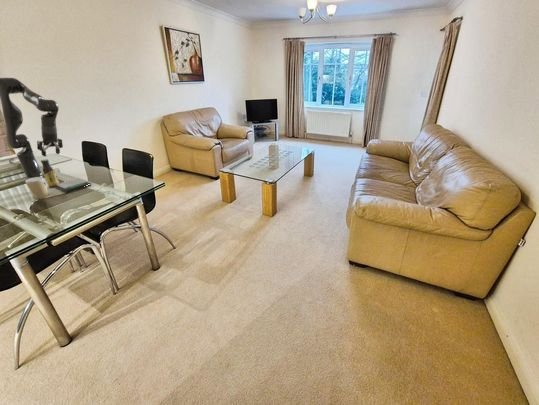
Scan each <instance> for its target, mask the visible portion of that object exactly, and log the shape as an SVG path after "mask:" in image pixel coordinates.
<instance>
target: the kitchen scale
mask: <svg viewBox="0 0 539 405" xmlns="http://www.w3.org/2000/svg"><path fill="white" fill-rule="evenodd" d="M88 184H91V185H88ZM86 185H88V186H86ZM84 186H85V187H84ZM88 187H92V183H91V182H89V181H86V180H84V179H81V178H79V177H77V178H74V179H73V178H72V179H69V180H66V181H63V182H59V184H56V185H55V187H54V188H55V189H56V190H59V191H61V192H63V193H65V194H70V193H73V192H76V191H79V190H82V189H86V188H88Z"/></svg>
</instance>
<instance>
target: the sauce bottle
mask: <svg viewBox="0 0 539 405" xmlns="http://www.w3.org/2000/svg"><path fill="white" fill-rule="evenodd" d="M40 163H41V165H42V174H43V177H44V180H45V182H46V185H47V186H48V188H50V189H53V188H56V187H55V185H56V184H59V183H60V182H59V179H58V178H57V175H56V172H55V170H54V168H53V167H52V166H51V165H50V161H49V159H41V160H40Z"/></svg>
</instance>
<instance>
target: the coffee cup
mask: <svg viewBox="0 0 539 405" xmlns="http://www.w3.org/2000/svg"><path fill="white" fill-rule="evenodd" d="M24 183H25V184H26V186H27V187H28V189H29V191H30V193H31V194H32V196H33V198H34V199H42V198H46V197H48V196H49V194H50V193H49V190H48V187H47V183H46V180H45V177H44V176H43V177H34V178H30V179H26V180H25V182H24Z"/></svg>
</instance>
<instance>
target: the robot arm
mask: <svg viewBox="0 0 539 405" xmlns="http://www.w3.org/2000/svg"><path fill="white" fill-rule="evenodd" d="M13 94H15V95H16V94H21V95H22V97H23V99H24V100H25V101H27V102H28V103H30V104H31V105H33V106H34V107H35V108H36V109H37V110H38V111H40V112H43V113H44V114H41V115H40V121H41V123H40V124H41V126H40V129H41V138H42V140H37V141H36V149H37V150H38V151H41V156H43V157H47V150H48V149H49V148H51V147H52V148H53V147H54V148H55V154H56V155H60V153H61V148H63V147H64V144H63V139H61V138H59V137H58V128H57V121H56V120H57V116H58V113H59V110H60V109H59V104H58V102H57V101H55V100H54V99H45V98H44V97H43V96H42V95H40V94H39V93H37V92H35V91H34V90H32V89H30V88H29V87H28V86H27V85H25V84H24V83H23V82H22V81H20V80H19V79H17V78H16V77H0V104H1V109H2V115H3V120H4V123H5V125H4V126H5V139H6V143H7V145H8V146H9V148H11V149H13V150H17V149H21V150H20V151H19V152H16V157H17V160H18V161H19V164H21V165H20V166H21V167H22V169H23V170H22V171H23V172H24V175H25V176H26V178H27V179H30V178H34V177H43V178H44V174H43V172H42V170H41V168H40V166H39V163H38V161H37V158H36V157H35V154H34V151H33V148H32V145H31V142H30V140H29V138H28V136H27V135H25V134H23V133H19V134H17V132H18V130H19V129H20V127H21V126H22V124H23V122H24V119H23V118H24V117H23V112H22V110H21V108H19V107H18V106H17V105H16V104H15V103H14V102H13V101H12V99H11V98H10V95H13ZM11 159H12V160H11ZM13 160H14V159H13V158H10V159H9V160H8V162H9V163H10V164H13V163H14V161H13ZM12 161H13V162H12ZM27 179H26V180H27Z"/></svg>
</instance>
